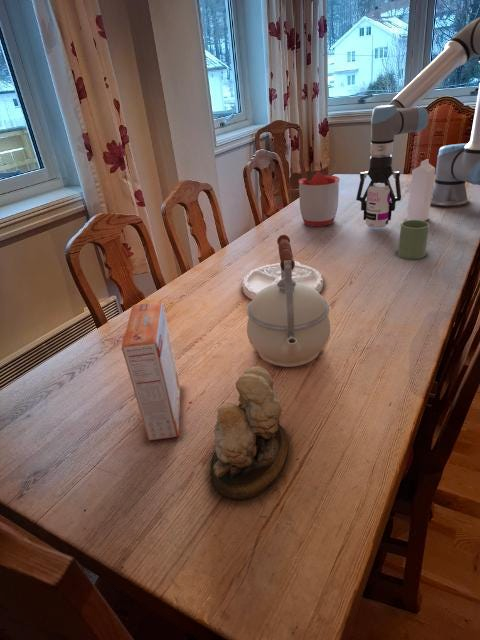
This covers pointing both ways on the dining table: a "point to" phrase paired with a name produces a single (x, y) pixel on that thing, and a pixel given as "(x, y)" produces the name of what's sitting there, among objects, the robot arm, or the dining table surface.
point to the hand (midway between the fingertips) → (377, 219)
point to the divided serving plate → (272, 275)
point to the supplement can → (377, 205)
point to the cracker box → (153, 370)
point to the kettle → (288, 317)
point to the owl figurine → (249, 439)
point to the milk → (421, 191)
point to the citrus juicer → (319, 199)
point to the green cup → (413, 239)
